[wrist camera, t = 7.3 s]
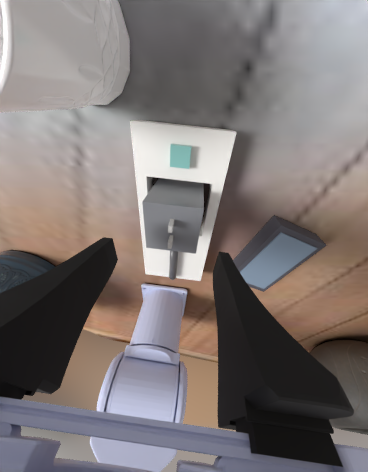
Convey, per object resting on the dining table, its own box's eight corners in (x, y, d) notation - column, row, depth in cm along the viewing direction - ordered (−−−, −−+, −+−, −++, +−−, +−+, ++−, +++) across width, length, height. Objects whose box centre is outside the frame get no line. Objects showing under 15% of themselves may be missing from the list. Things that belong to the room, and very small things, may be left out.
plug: (197, 218, 19) (195, 262, 13) (160, 214, 19) (142, 255, 13) (203, 181, 16) (203, 216, 11) (159, 176, 16) (137, 208, 11)
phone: (259, 278, 25) (264, 292, 23) (225, 265, 24) (227, 279, 22) (314, 232, 19) (327, 246, 17) (272, 213, 18) (281, 225, 16)
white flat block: (200, 270, 24) (200, 287, 22) (149, 263, 24) (143, 279, 22) (232, 129, 13) (239, 133, 11) (138, 119, 13) (124, 120, 11)
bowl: (415, 340, 31) (516, 447, 21) (333, 363, 42) (374, 441, 32) (342, 318, 29) (418, 427, 19) (275, 348, 39) (300, 427, 29)
